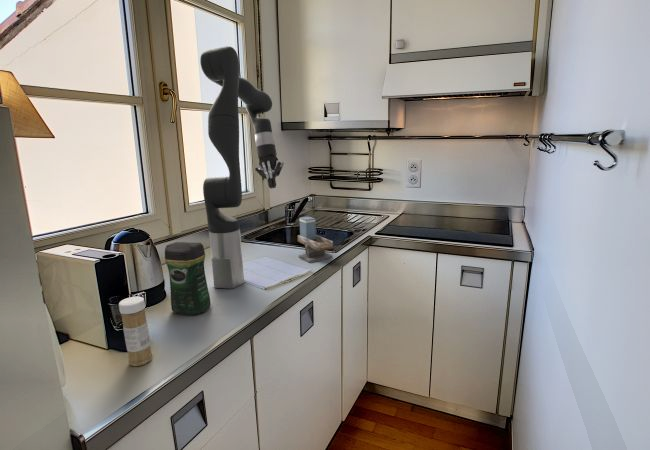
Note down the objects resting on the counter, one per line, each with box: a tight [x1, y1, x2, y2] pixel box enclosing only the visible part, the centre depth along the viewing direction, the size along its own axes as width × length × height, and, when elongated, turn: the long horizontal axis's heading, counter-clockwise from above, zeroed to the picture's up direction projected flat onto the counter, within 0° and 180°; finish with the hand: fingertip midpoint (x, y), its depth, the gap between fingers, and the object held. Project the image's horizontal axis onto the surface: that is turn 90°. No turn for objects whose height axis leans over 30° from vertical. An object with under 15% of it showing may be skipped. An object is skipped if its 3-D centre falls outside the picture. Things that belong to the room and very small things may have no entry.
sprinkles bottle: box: [118, 296, 153, 367], centre depth 77 cm, size 5×5×14 cm
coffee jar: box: [164, 241, 212, 316], centre depth 99 cm, size 10×8×19 cm
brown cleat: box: [297, 234, 334, 264], centre depth 141 cm, size 16×10×8 cm, turn 32°
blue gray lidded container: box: [298, 216, 317, 240], centre depth 144 cm, size 5×4×8 cm
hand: (272, 188), depth 152 cm, fingers closed
